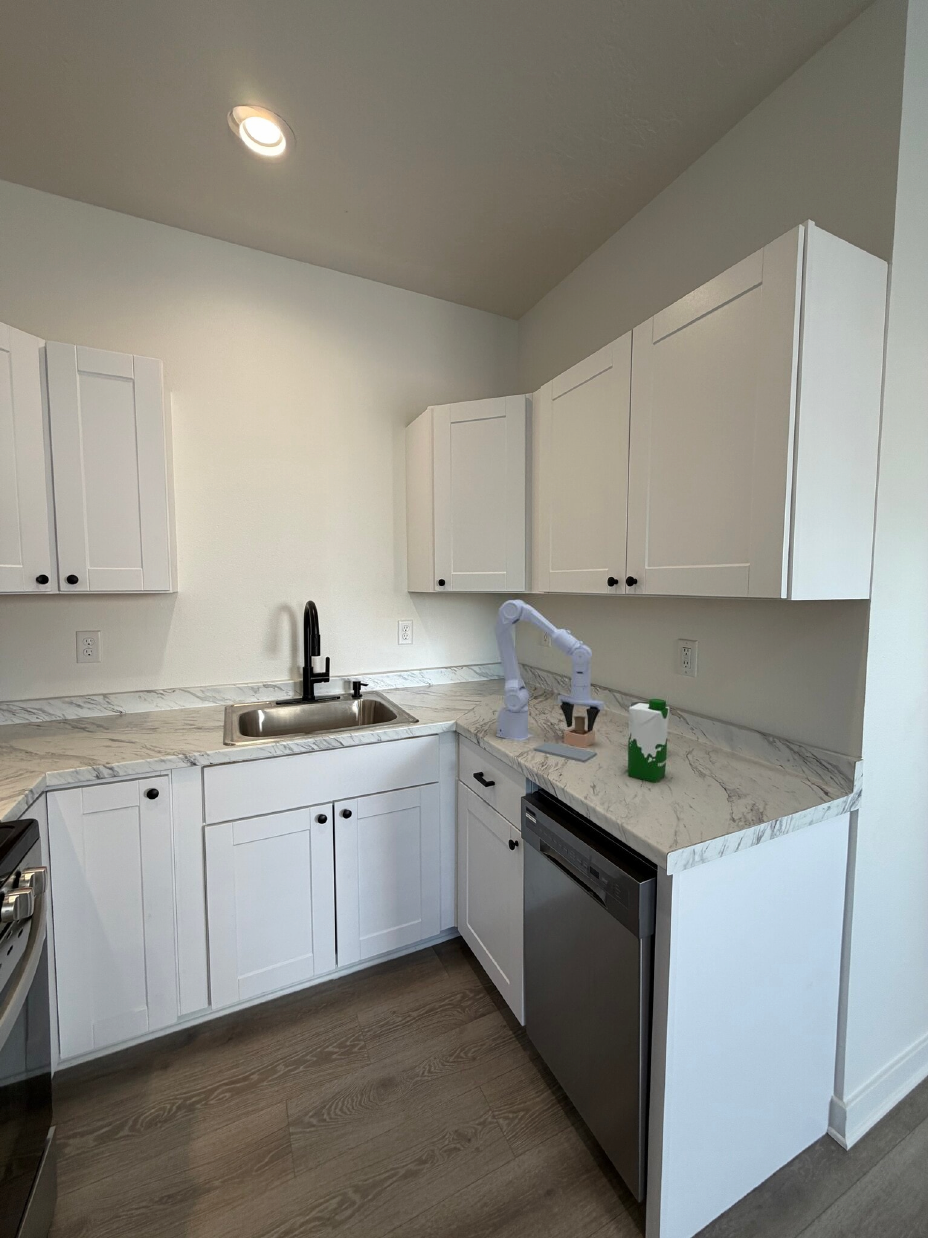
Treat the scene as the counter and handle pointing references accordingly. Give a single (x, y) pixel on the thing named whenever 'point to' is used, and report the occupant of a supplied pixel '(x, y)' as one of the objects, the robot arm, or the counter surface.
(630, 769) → the milk carton
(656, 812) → the counter surface
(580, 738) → the square hollow frame
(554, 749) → the board
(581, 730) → the peg
